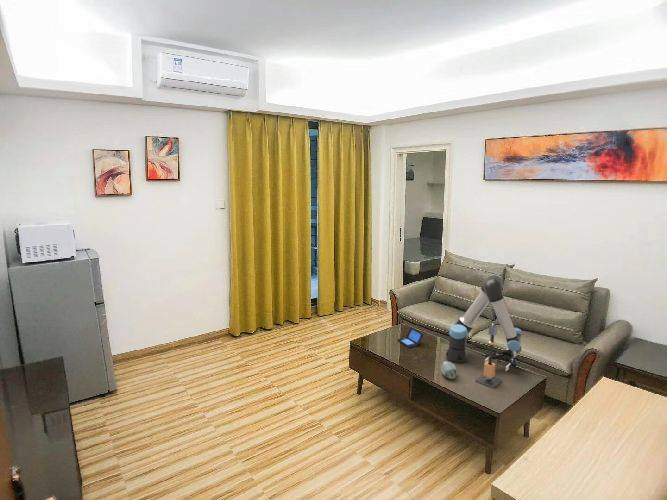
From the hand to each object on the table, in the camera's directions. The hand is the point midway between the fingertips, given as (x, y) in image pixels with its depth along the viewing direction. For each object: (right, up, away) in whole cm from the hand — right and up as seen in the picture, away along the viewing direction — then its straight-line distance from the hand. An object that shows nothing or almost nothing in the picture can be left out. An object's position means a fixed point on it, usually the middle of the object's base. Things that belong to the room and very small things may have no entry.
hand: (495, 365), depth 264 cm
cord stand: (-6, -9, -4) cm, 12 cm away
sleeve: (-6, -5, -4) cm, 9 cm away
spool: (-29, -8, +4) cm, 31 cm away
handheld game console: (-45, +2, +53) cm, 70 cm away
